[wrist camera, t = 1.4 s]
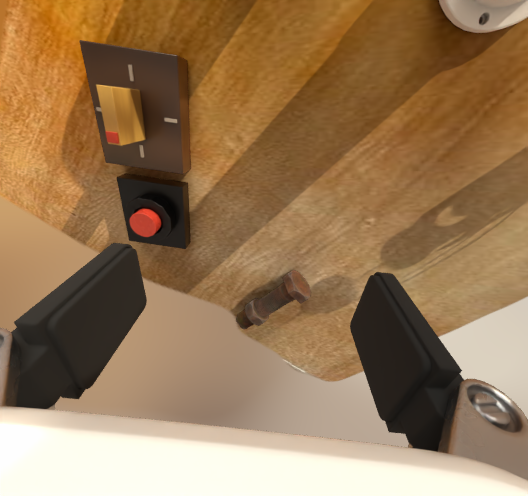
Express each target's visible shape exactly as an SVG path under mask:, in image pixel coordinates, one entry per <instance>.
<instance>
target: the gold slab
mask: <svg viewBox="0 0 528 496" xmlns="http://www.w3.org/2000/svg"><path fill="white" fill-rule="evenodd" d="M96 86H97V91H98V96H99V101H100V106H101V111H102V116H103V121H104V126H105V130H106V131H105V132H106V137H107V142H108V144H113V145H120V146H122V145H126V144H130V143H134V142H138V141H142V140H146V137H145V129H144V121H143V113H142V105H141V97H140V90H136V89H130V88H122V87H113V86H105V85H96Z"/></svg>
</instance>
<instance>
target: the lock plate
mask: <svg viewBox="0 0 528 496" xmlns="http://www.w3.org/2000/svg"><path fill="white" fill-rule="evenodd" d="M80 45H81V50H82V54H83V59H84V64H85V68H86V73H87V77H88V82H89V87H90V91H91V96H92V101H93V105H94V110H95V114H96V119H97V124H98V128H99V133H100V137H101V142H102V147H103V151H104V156H105V161H106V163H112V164H119V165H126V166H132V167H139V168H145V169H152V170H159V171H165V172H172V173H179V174H184V173H185V172H187V171H188V170H190V169H191V158H190V128H189V98H188V68H187V60H186V59H183V58H181V57H179V56H177V55H172V54H165V53H159V52H152V51H146V50H140V49H133V48H127V47H120V46H114V45H107V44H101V43H95V42H88V41H82V40H80ZM96 85H105V86H113V87H122V88H130V89H136V90H140V97H141V105H142V113H143V121H144V129H145V137H146V140H142V141H138V142H134V143H130V144H126V145H122V146H120V145H113V144H108V142H107V137H106V132H105V131H106V130H105V126H104V121H103V116H102V111H101V106H100V101H99V96H98V91H97V86H96Z"/></svg>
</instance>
